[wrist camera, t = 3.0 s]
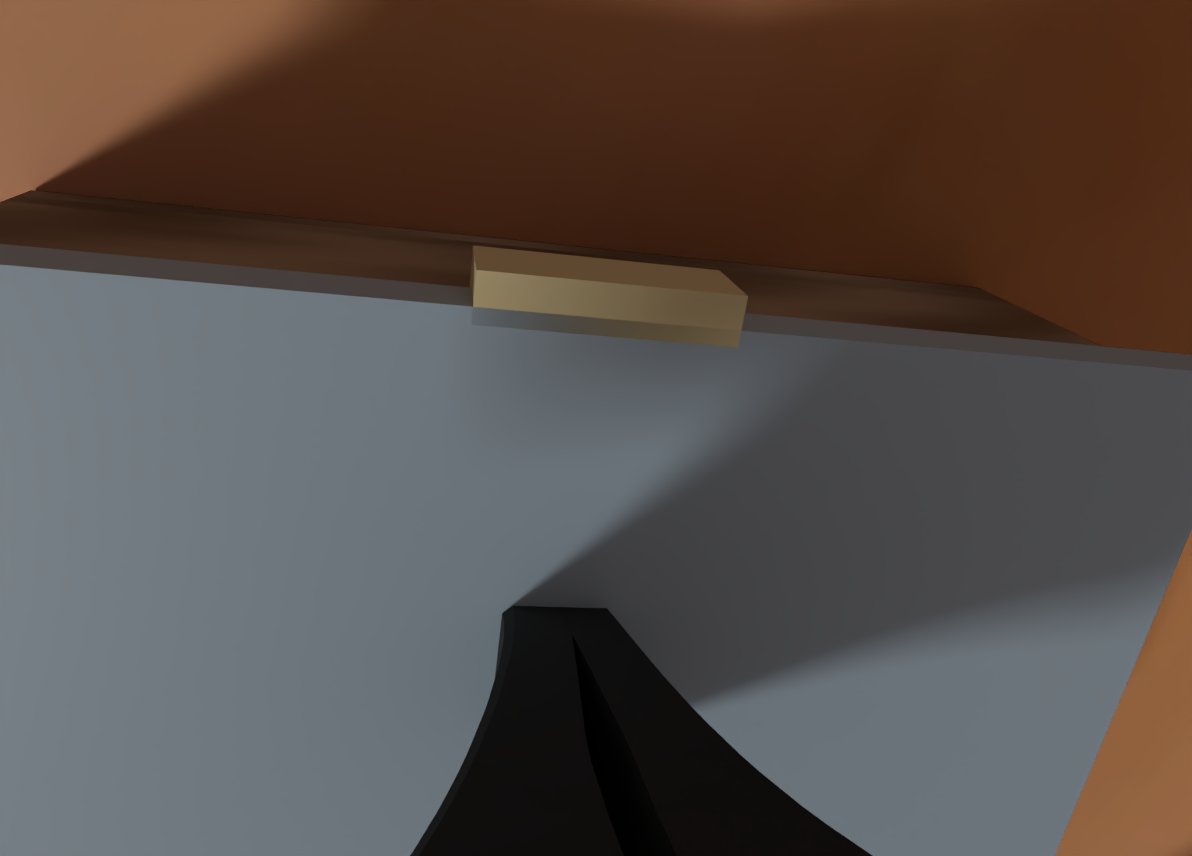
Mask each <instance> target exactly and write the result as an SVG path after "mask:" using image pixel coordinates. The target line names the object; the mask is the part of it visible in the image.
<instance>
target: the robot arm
mask: <svg viewBox="0 0 1192 856" xmlns="http://www.w3.org/2000/svg"><path fill="white" fill-rule="evenodd" d="M410 856H873V855H871V854H869V853H868V852H867V851H865V850H864V849H862V848H861V847H859V846H858V845H856V844H855V843H853V842H852V841H850V840H849V839H848V838H846V837H845V836H843V835H842V834H840V833H839V832H837V831H836V830H834V829H833V828H831V827H830V826H829V825H827V824H826V823H824V822H823V821H822V820H820V819H819V818H818V817H816V816H815V815H813V814H812V813H811V812H809V811H808V810H807V809H805V808H804V807H803V806H801V805H800V804H799V803H798V802H796V801H795V800H794V799H793V798H791V797H790V796H789V795H788V794H787V793H785V792H784V791H783V790H782V789H780V788H779V787H778V786H777V785H775V784H774V783H773V782H772V781H771V780H769V779H768V778H767V777H766V776H764V775H763V774H762V773H761V772H759V771H758V770H757V769H756V768H755V767H754V766H753V765H752V764H750V763H749V762H748V761H747V760H746V759H745V758H744V757H743V756H741V755H740V754H739V753H738V752H737V751H736V750H735V749H734V748H733V747H732V746H731V745H730V744H729V743H728V742H727V741H726V740H725V739H724V738H723V737H721V736H720V735H719V734H718V733H717V732H716V731H715V730H714V729H713V728H712V727H711V726H710V725H709V724H708V723H707V722H706V721H705V720H704V719H703V718H702V717H701V716H700V715H699V714H698V713H697V712H696V711H695V710H694V709H693V708H692V707H691V705H690V704H689V703H688V702H687V701H686V700H685V699H684V698H683V697H682V696H681V694H680V693H679V692H678V691H677V690H676V689H675V688H674V687H673V686H672V685H671V684H670V682H669V681H668V680H667V679H666V678H665V677H664V676H663V674H662V673H661V672H660V671H659V670H658V669H657V667H656V666H655V665H654V664H653V663H652V662H651V660H650V659H649V658H648V657H647V656H646V654H645V653H644V652H643V651H642V650H641V648H640V647H639V646H638V645H637V644H636V642H635V641H634V640H633V639H632V638H631V636H630V635H629V634H628V633H627V631H626V630H625V629H624V628H623V627H622V625H621V624H620V623H619V622H618V621H617V619H616V618H615V617H614V616H613V615H612V614H611V612H610V611H609V610H608V609H607V608H575V607H541V606H511V607H510V608H508V609H507V610H506V611H504V612H503V613H502V619H501V628H500V637H499V646H498V654H497V663H496V672H495V680H494V683H493V687H492V690H491V693H490V697H489V700H488V703H487V706H486V709H485V711H484V714H483V716H482V719H481V721H480V724H479V726H478V728H477V731H476V733H475V736H474V738H473V741H472V743H471V746H470V748H469V750H468V753H467V755H466V757H465V759H464V761H463V763H462V765H461V768H460V770H459V772H458V774H457V776H456V778H455V780H454V782H453V784H452V785H451V787H450V789H449V791H448V793H447V795H446V797H445V799H444V800H443V802H442V804H441V806H440V808H439V809H438V811H437V813H436V815H435V816H434V818H433V820H432V821H431V823H430V824H429V826H428V828H427V829H426V831H425V833H424V834H423V836H422V838H421V839H420V841H419V843H418V844H417V846H416V848H415V849H414V851H413V852H412V854H411V855H410Z"/></svg>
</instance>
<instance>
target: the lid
mask: <svg viewBox="0 0 1192 856" xmlns="http://www.w3.org/2000/svg"><path fill="white" fill-rule="evenodd" d="M747 300H748V295H746V294H745V293H744V292H743V291H742V290H741V289H740V288H739V287H737V286H736V285H735V284H734V283H733V282H732V281H731V280H730V279H728V278H727V277H726V276H725V275H724V274H723V273H722V272H721V271H719V270H711V269H701V268H691V267H681V266H671V265H661V264H651V263H642V262H632V261H622V260H612V259H602V258H592V257H582V256H572V255H563V254H553V253H543V252H533V251H523V250H513V249H503V248H494V247H484V246H474V245H473V251H472V262H471V274H470V286H469V287H459V286H448V285H437V284H426V283H416V282H405V281H394V280H383V279H373V278H362V277H351V276H340V275H330V274H319V273H308V272H297V271H287V270H276V269H265V268H254V267H244V266H233V265H222V264H211V263H201V262H190V261H179V260H168V259H158V258H147V257H136V256H125V255H114V254H104V253H93V252H82V251H71V250H61V249H50V248H39V247H28V246H18V245H7V244H0V856H410V855H411V854H412V852H413V851H414V849H415V848H416V846H417V844H418V843H419V841H420V839H421V838H422V836H423V834H424V833H425V831H426V829H427V828H428V826H429V824H430V823H431V821H432V820H433V818H434V816H435V815H436V813H437V811H438V809H439V808H440V806H441V804H442V802H443V800H444V799H445V797H446V795H447V793H448V791H449V789H450V787H451V785H452V784H453V782H454V780H455V778H456V776H457V774H458V772H459V770H460V768H461V765H462V763H463V761H464V759H465V757H466V755H467V753H468V750H469V748H470V746H471V743H472V741H473V738H474V736H475V733H476V731H477V728H478V726H479V724H480V721H481V719H482V716H483V714H484V711H485V709H486V706H487V703H488V700H489V697H490V693H491V690H492V687H493V683H494V680H495V672H496V663H497V654H498V646H499V637H500V628H501V619H502V613H503V612H504V611H506V610H507V609H508V608H510V607H511V606H541V607H575V608H607V609H608V610H609V611H610V612H611V614H612V615H613V616H614V617H615V618H616V619H617V621H618V622H619V623H620V624H621V625H622V627H623V628H624V629H625V630H626V631H627V633H628V634H629V635H630V636H631V638H632V639H633V640H634V641H635V642H636V644H637V645H638V646H639V647H640V648H641V650H642V651H643V652H644V653H645V654H646V656H647V657H648V658H649V659H650V660H651V662H652V663H653V664H654V665H655V666H656V667H657V669H658V670H659V671H660V672H661V673H662V674H663V676H664V677H665V678H666V679H667V680H668V681H669V682H670V684H671V685H672V686H673V687H674V688H675V689H676V690H677V691H678V692H679V693H680V694H681V696H682V697H683V698H684V699H685V700H686V701H687V702H688V703H689V704H690V705H691V707H692V708H693V709H694V710H695V711H696V712H697V713H698V714H699V715H700V716H701V717H702V718H703V719H704V720H705V721H706V722H707V723H708V724H709V725H710V726H711V727H712V728H713V729H714V730H715V731H716V732H717V733H718V734H719V735H720V736H721V737H723V738H724V739H725V740H726V741H727V742H728V743H729V744H730V745H731V746H732V747H733V748H734V749H735V750H736V751H737V752H738V753H739V754H740V755H741V756H743V757H744V758H745V759H746V760H747V761H748V762H749V763H750V764H752V765H753V766H754V767H755V768H756V769H757V770H758V771H759V772H761V773H762V774H763V775H764V776H766V777H767V778H768V779H769V780H771V781H772V782H773V783H774V784H775V785H777V786H778V787H779V788H780V789H782V790H783V791H784V792H785V793H787V794H788V795H789V796H790V797H791V798H793V799H794V800H795V801H796V802H798V803H799V804H800V805H801V806H803V807H804V808H805V809H807V810H808V811H809V812H811V813H812V814H813V815H815V816H816V817H818V818H819V819H820V820H822V821H823V822H824V823H826V824H827V825H829V826H830V827H831V828H833V829H834V830H836V831H837V832H839V833H840V834H842V835H843V836H845V837H846V838H848V839H849V840H850V841H852V842H853V843H855V844H856V845H858V846H859V847H861V848H862V849H864V850H865V851H867V852H868V853H869V854H871V855H873V856H1055V854H1056V851H1057V849H1058V847H1059V844H1060V842H1061V840H1062V837H1063V835H1064V832H1065V830H1066V828H1067V825H1068V823H1069V820H1070V818H1071V816H1072V813H1073V811H1074V809H1075V806H1076V804H1077V801H1078V799H1079V797H1080V794H1081V792H1082V789H1083V787H1084V785H1085V782H1086V780H1087V777H1088V775H1089V773H1090V770H1091V768H1092V766H1093V763H1094V761H1095V758H1096V756H1097V754H1098V751H1099V749H1100V746H1101V744H1102V742H1103V739H1104V737H1105V734H1106V732H1107V730H1108V727H1109V725H1110V723H1111V720H1112V718H1113V715H1114V713H1115V711H1116V708H1117V706H1118V703H1119V701H1120V699H1121V696H1122V694H1123V692H1124V689H1125V687H1126V684H1127V682H1128V680H1129V677H1130V675H1131V672H1132V670H1133V668H1134V665H1135V663H1136V660H1137V658H1138V656H1139V653H1140V651H1141V649H1142V646H1143V644H1144V641H1145V639H1146V637H1147V634H1148V632H1149V629H1150V627H1151V625H1152V622H1153V620H1154V618H1155V615H1156V613H1157V610H1158V608H1159V606H1160V603H1161V601H1162V598H1163V596H1164V594H1165V591H1166V589H1167V586H1168V584H1169V582H1170V579H1171V577H1172V575H1173V572H1174V570H1175V567H1176V565H1177V563H1178V560H1179V558H1180V555H1181V553H1182V551H1183V548H1184V546H1185V543H1186V541H1187V539H1188V536H1189V534H1190V532H1191V529H1192V355H1190V354H1179V353H1169V352H1158V351H1147V350H1136V349H1126V348H1115V347H1104V346H1093V345H1083V344H1072V343H1061V342H1050V341H1040V340H1029V339H1018V338H1007V337H997V336H986V335H975V334H964V333H953V332H943V331H932V330H921V329H910V328H900V327H889V326H878V325H867V324H857V323H846V322H835V321H824V320H814V319H803V318H792V317H781V316H771V315H760V314H749V313H745V310H746V305H747Z"/></svg>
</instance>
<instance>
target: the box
mask: <svg viewBox="0 0 1192 856" xmlns="http://www.w3.org/2000/svg"><path fill="white" fill-rule="evenodd" d="M0 244H7V245H18V246H28V247H39V248H50V249H61V250H71V251H82V252H93V253H104V254H114V255H125V256H136V257H147V258H158V259H168V260H179V261H190V262H201V263H211V264H222V265H233V266H244V267H254V268H265V269H276V270H287V271H297V272H308V273H319V274H330V275H340V276H351V277H362V278H373V279H383V280H394V281H405V282H416V283H426V284H437V285H448V286H459V287H469V286H470V274H471V262H472V251H473V245H474V246H484V247H494V248H503V249H513V250H523V251H533V252H543V253H553V254H563V255H572V256H582V257H592V258H602V259H612V260H622V261H632V262H642V263H651V264H661V265H671V266H681V267H691V268H701V269H711V270H719V271H721V272H722V273H723V274H724V275H725V276H726V277H727V278H728V279H730V280H731V281H732V282H733V283H734V284H735V285H736V286H737V287H739V288H740V289H741V290H742V291H743V292H744V293H745V294H746V295H748V300H747V305H746V310H745V313H749V314H760V315H771V316H781V317H792V318H803V319H814V320H824V321H835V322H846V323H857V324H867V325H878V326H889V327H900V328H910V329H921V330H932V331H943V332H953V333H964V334H975V335H986V336H997V337H1007V338H1018V339H1029V340H1040V341H1050V342H1061V343H1072V344H1083V345H1093V346H1100V345H1098V344H1096V343H1094V342H1092V341H1090V340H1087V339H1085V338H1083V337H1081V336H1079V335H1077V334H1075V333H1073V332H1071V331H1068V330H1066V329H1064V328H1062V327H1060V326H1058V325H1056V324H1054V323H1052V322H1049V321H1047V320H1045V319H1043V318H1041V317H1039V316H1037V315H1035V314H1033V313H1030V312H1028V311H1026V310H1024V309H1022V308H1020V307H1018V306H1016V305H1014V304H1012V303H1009V302H1007V301H1005V300H1003V299H1001V298H999V297H997V296H995V295H993V294H990V293H988V292H986V291H984V290H982V289H980V288H973V287H963V286H954V285H944V284H934V283H925V282H915V281H905V280H895V279H886V278H876V277H866V276H857V275H847V274H837V273H828V272H818V271H808V270H799V269H789V268H779V267H770V266H760V265H750V264H741V263H731V262H721V261H711V260H702V259H692V258H682V257H673V256H663V255H653V254H644V253H634V252H624V251H615V250H605V249H595V248H586V247H576V246H566V245H557V244H547V243H537V242H527V241H518V240H508V239H498V238H489V237H479V236H469V235H460V234H450V233H440V232H431V231H421V230H411V229H402V228H392V227H382V226H372V225H363V224H353V223H343V222H334V221H324V220H314V219H305V218H295V217H285V216H276V215H266V214H256V213H247V212H237V211H227V210H218V209H208V208H198V207H188V206H179V205H169V204H159V203H150V202H140V201H130V200H121V199H111V198H101V197H92V196H82V195H72V194H63V193H53V192H43V191H34V190H31V191H28V192H26V193H23V194H20V195H18V196H15V197H12V198H10V199H7V200H5V201H2V202H0Z"/></svg>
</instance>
